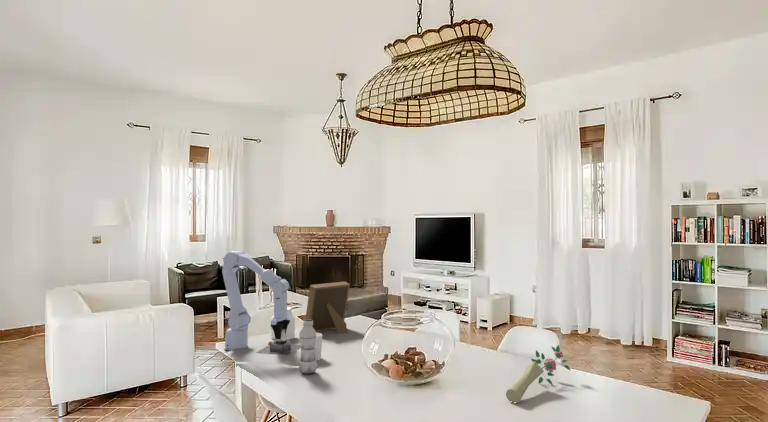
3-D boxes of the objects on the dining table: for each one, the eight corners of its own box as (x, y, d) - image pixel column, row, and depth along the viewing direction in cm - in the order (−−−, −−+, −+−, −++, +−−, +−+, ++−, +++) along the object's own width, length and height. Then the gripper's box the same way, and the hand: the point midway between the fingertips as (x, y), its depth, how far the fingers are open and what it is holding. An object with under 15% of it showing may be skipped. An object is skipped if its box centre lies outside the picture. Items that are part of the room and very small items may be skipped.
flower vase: (506, 422, 159) (545, 372, 186) (540, 421, 151) (575, 369, 178) (493, 388, 160) (533, 343, 186) (526, 385, 152) (563, 339, 178)
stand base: (255, 355, 209) (255, 344, 209) (271, 345, 225) (271, 335, 225) (289, 357, 206) (289, 346, 206) (304, 347, 221) (304, 337, 221)
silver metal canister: (274, 348, 214) (274, 329, 214) (278, 345, 218) (278, 327, 218) (282, 348, 213) (282, 330, 213) (286, 346, 217) (286, 328, 217)
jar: (267, 339, 235) (267, 308, 236) (280, 335, 244) (281, 305, 244) (284, 342, 229) (285, 311, 230) (298, 338, 238) (298, 307, 238)
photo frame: (303, 331, 251) (304, 283, 251) (338, 325, 265) (339, 280, 265) (319, 337, 240) (319, 287, 240) (354, 331, 253) (355, 283, 254)
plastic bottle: (313, 376, 182) (313, 322, 182) (296, 374, 183) (296, 322, 184) (319, 370, 188) (319, 319, 188) (302, 369, 190) (302, 318, 190)
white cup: (320, 361, 200) (320, 337, 201) (301, 361, 201) (301, 337, 201) (323, 355, 208) (323, 332, 208) (305, 355, 208) (305, 332, 209)
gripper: (281, 310, 208) (281, 342, 207) (295, 304, 222) (295, 334, 222) (266, 309, 209) (266, 341, 209) (281, 303, 223) (280, 333, 223)
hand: (280, 337), depth 215 cm, fingers closed on silver metal canister, 4 cm apart
